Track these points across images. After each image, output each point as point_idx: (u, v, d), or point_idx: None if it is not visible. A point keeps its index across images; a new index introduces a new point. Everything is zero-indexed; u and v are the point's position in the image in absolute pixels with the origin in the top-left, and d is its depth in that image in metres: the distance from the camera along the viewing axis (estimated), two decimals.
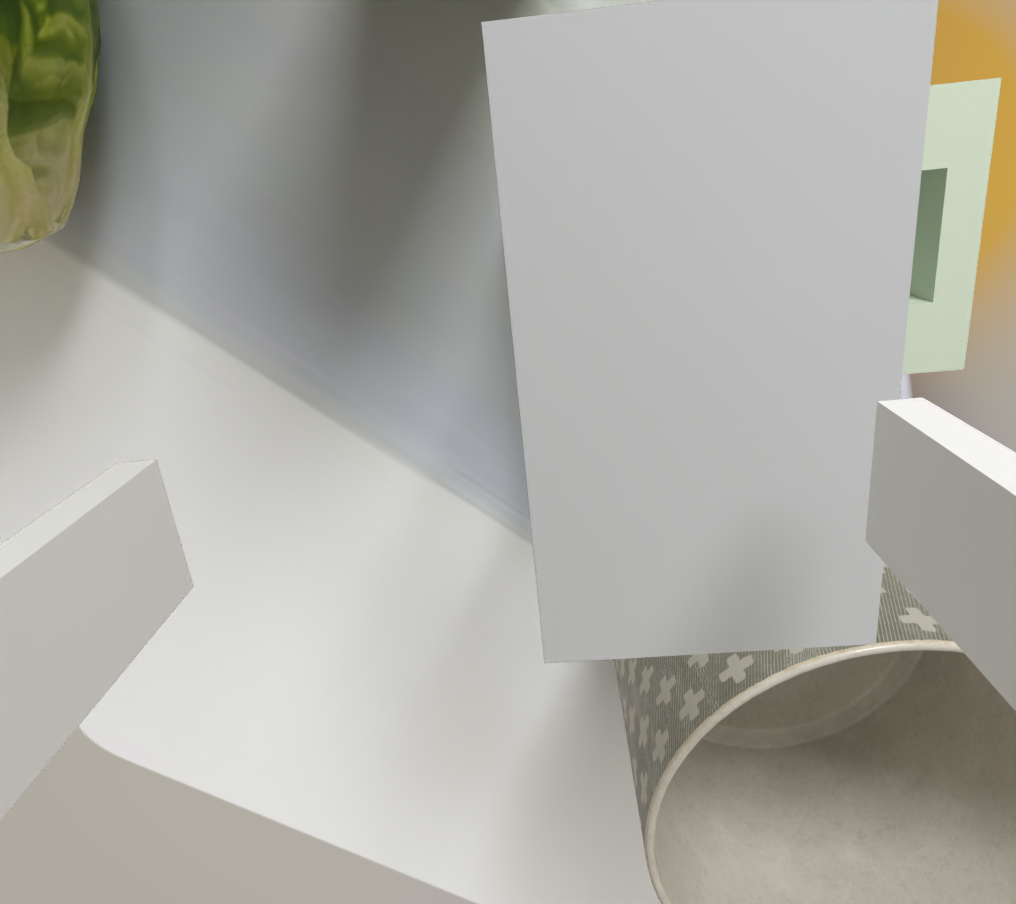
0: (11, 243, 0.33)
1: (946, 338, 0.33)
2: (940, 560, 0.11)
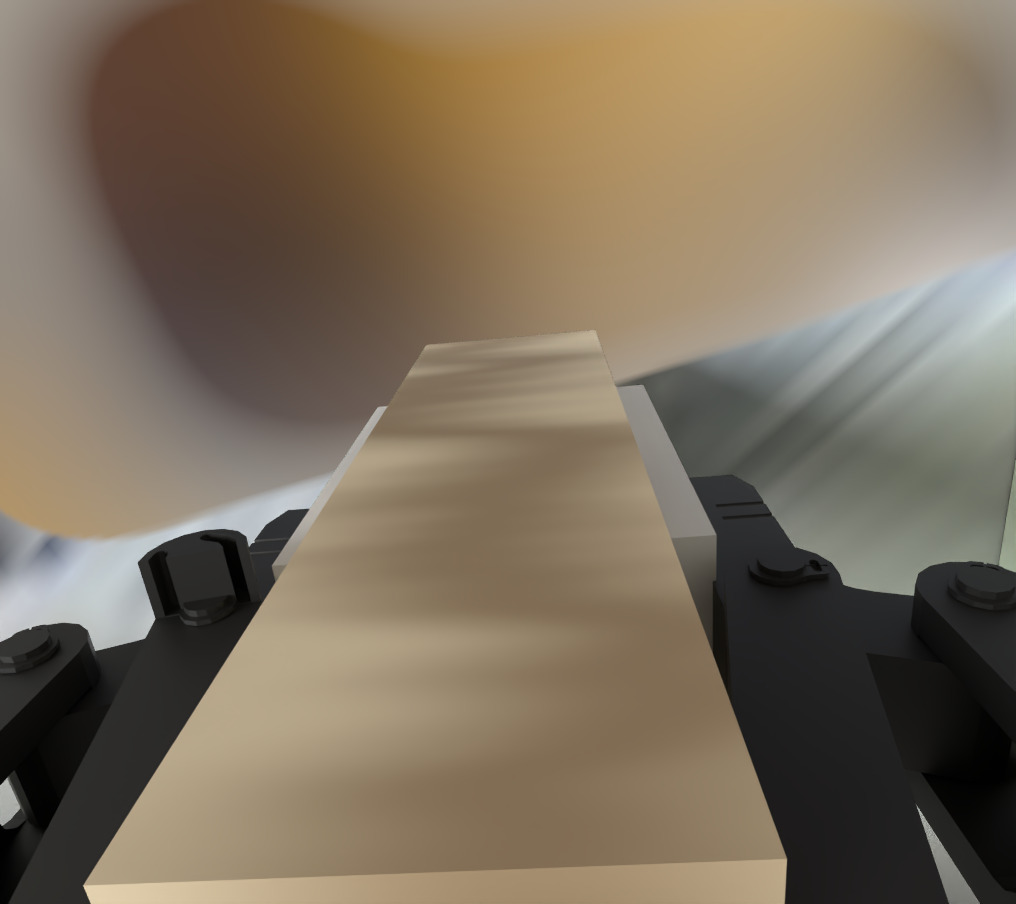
0: None
1: None
2: None
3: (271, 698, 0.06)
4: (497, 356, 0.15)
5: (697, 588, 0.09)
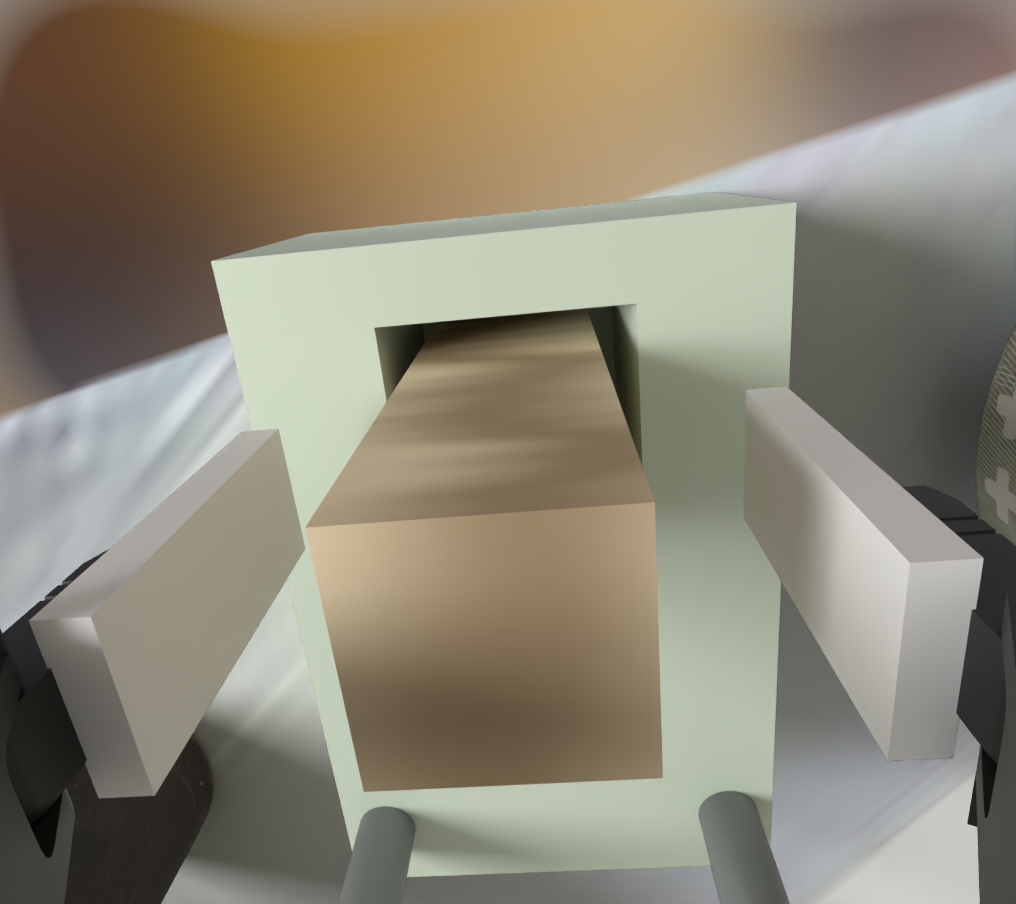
0: None
1: (718, 258, 0.15)
2: (783, 529, 0.12)
3: (381, 471, 0.10)
4: None
5: (953, 618, 0.08)
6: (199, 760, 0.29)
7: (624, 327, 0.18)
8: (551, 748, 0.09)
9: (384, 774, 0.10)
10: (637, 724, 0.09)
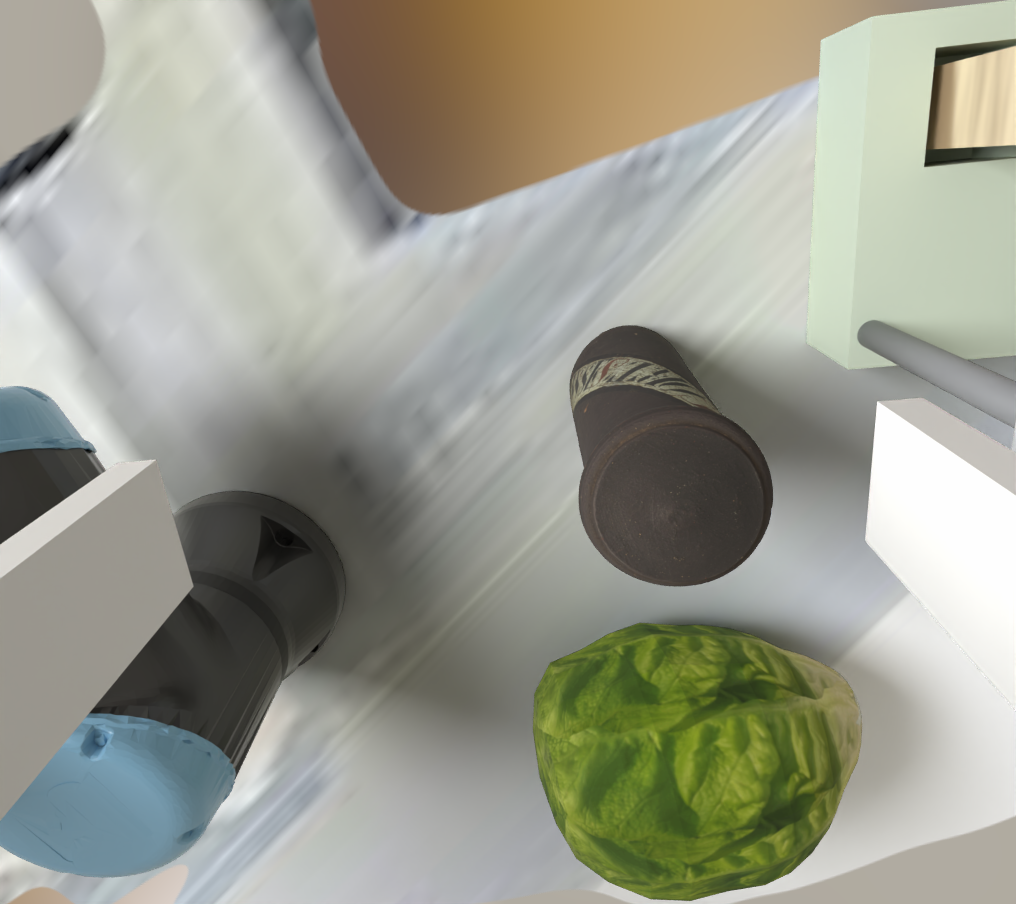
0: (858, 707, 0.51)
1: None
2: (940, 560, 0.11)
3: None
4: None
5: None
6: None
7: None
8: None
9: None
10: None
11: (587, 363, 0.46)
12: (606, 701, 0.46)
